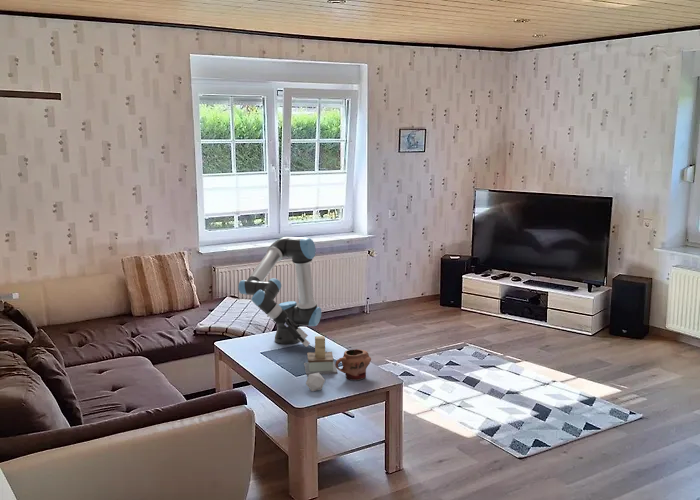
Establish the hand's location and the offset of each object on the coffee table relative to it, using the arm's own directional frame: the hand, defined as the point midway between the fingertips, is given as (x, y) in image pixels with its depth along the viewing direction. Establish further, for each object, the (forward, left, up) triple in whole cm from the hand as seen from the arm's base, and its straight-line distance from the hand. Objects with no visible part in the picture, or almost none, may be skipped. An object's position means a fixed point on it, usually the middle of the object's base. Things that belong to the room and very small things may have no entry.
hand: (307, 341), depth 337 cm
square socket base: (0, +7, -15) cm, 17 cm away
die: (+28, +2, -16) cm, 32 cm away
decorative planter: (+16, +22, -16) cm, 31 cm away
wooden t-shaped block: (0, +7, -9) cm, 12 cm away
